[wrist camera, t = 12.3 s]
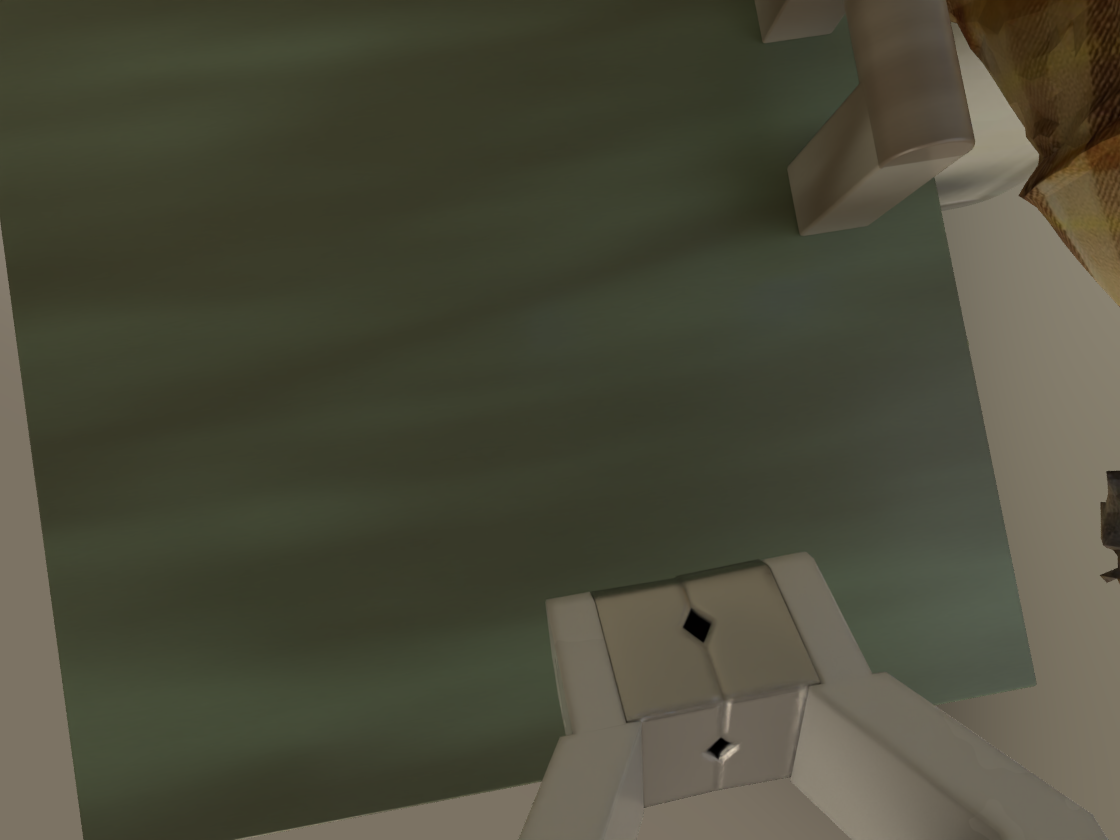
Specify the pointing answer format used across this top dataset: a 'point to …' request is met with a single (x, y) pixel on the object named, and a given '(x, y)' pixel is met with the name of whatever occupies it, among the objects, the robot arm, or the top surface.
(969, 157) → the top surface
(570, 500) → the door
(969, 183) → the top surface
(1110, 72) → the plaid cloth bag
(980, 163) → the top surface
